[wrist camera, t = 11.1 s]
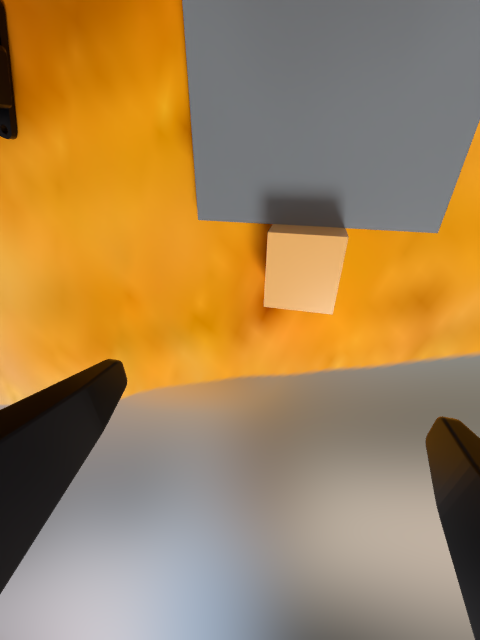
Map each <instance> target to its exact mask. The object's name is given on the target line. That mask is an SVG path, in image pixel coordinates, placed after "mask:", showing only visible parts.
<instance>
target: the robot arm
mask: <svg viewBox="0 0 480 640" xmlns="http://www.w3.org/2000/svg"><path fill="white" fill-rule="evenodd" d="M6 127H7V128H6ZM7 129H8V131H7ZM0 136H1V137H3V138H6V139H16V137H17V125H16V115H15V106H14V96H13V86H12V76H11V67H10V57H9V47H8V37H7V28H6V18H5V11H4V7H3V5H2V3H1V1H0ZM126 385H127V377H126V373H125V370H124V367H123V364H122V362H121V361H119V360H113V359H107V360H104V361H102V362H100V363H98V364H96V365H94V366H92V367H90V368H88V369H86V370H83V371H81V372H79V373H77V374H75V375H73V376H71V377H69V378H67V379H64V380H62V381H60V382H58V383H56V384H54V385H52V386H50V387H48V388H45V389H43V390H41V391H39V392H37V393H35V394H33V395H31V396H29V397H26V398H24V399H22V400H20V401H18V402H16V403H14V404H12V405H10V406H8V407H6V408H4V409H1V410H0V594H1V592H2V591H3V589H4V588H5V586H6V584H7V583H8V581H9V580H10V578H11V576H12V575H13V573H14V572H15V570H16V569H17V567H18V565H19V564H20V562H21V561H22V559H23V558H24V556H25V554H26V553H27V551H28V550H29V548H30V547H31V545H32V543H33V542H34V540H35V539H36V537H37V535H38V534H39V532H40V531H41V529H42V527H43V526H44V524H45V523H46V521H47V520H48V518H49V517H50V515H51V513H52V512H53V510H54V509H55V507H56V505H57V504H58V502H59V501H60V499H61V497H62V496H63V494H64V493H65V491H66V490H67V488H68V487H69V485H70V483H71V482H72V480H73V479H74V477H75V475H76V474H77V472H78V471H79V469H80V468H81V466H82V464H83V463H84V461H85V460H86V458H87V457H88V455H89V453H90V452H91V450H92V448H93V447H94V445H95V443H96V442H97V441H98V439H99V438H100V436H101V434H102V432H103V431H104V429H105V427H106V425H107V424H108V422H109V420H110V418H111V416H112V414H113V412H114V410H115V408H116V406H117V404H118V402H119V400H120V398H121V396H122V394H123V392H124V390H125V388H126ZM426 449H427V455H428V461H429V466H430V472H431V478H432V483H433V489H434V494H435V499H436V505H437V509H438V512H439V517H440V520H441V524H442V527H443V530H444V534H445V537H446V541H447V544H448V548H449V551H450V555H451V558H452V562H453V565H454V569H455V572H456V575H457V579H458V582H459V585H460V589H461V593H462V596H463V600H464V603H465V606H466V610H467V613H468V617H469V620H470V624H471V627H472V630H473V634H474V638H475V640H480V438H479V437H478V436H476V434H475V433H473V432H472V431H471V430H470V429H469V428H468V427H467V426H465V425H464V424H463V423H462V422H461V421H459V420H457V419H453V418H448V417H438V418H437V419H436V421H435V422H434V424H433V426H432V428H431V429H430V431H429V433H428V434H427V437H426Z"/></svg>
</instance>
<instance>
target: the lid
mask: <svg viewBox="0 0 480 640" xmlns="http://www.w3.org/2000/svg"><path fill="white" fill-rule="evenodd" d="M182 2H183V16H184V29H185V43H186V57H187V71H188V85H189V99H190V112H191V126H192V140H193V154H194V168H195V182H196V196H197V209H198V220H210V221H228V222H246V223H264V224H273V225H272V226H271V228H270V229H269V231H268V238H267V256H266V274H265V292H264V307H272V308H281V309H289V310H298V311H307V312H316V313H324V314H333V310H334V305H335V300H336V295H337V290H338V286H339V281H340V276H341V271H342V266H343V261H344V257H345V252H346V247H347V242H348V235H347V232H346V229H345V228H355V229H373V230H391V231H410V232H428V233H438V231H439V228H440V225H441V223H442V220H443V217H444V215H445V212H446V209H447V207H448V204H449V201H450V199H451V196H452V193H453V190H454V188H455V185H456V182H457V180H458V177H459V174H460V172H461V169H462V166H463V163H464V161H465V158H466V155H467V153H468V150H469V147H470V145H471V142H472V139H473V137H474V134H475V131H476V128H477V126H478V123H479V120H480V0H182Z"/></svg>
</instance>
